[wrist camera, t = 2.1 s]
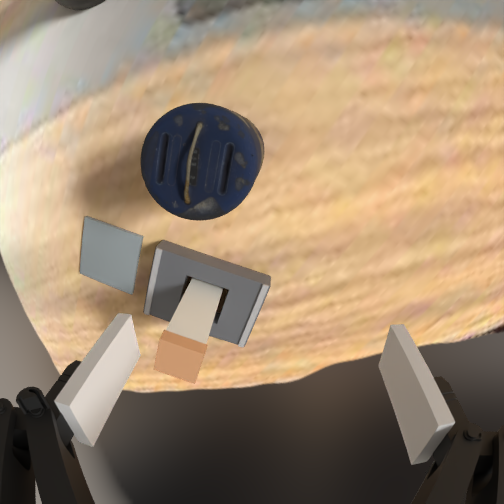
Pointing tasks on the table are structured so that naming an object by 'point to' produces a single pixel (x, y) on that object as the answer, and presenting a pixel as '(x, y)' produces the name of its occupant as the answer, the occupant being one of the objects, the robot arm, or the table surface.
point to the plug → (188, 332)
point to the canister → (201, 160)
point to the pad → (110, 254)
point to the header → (214, 272)
